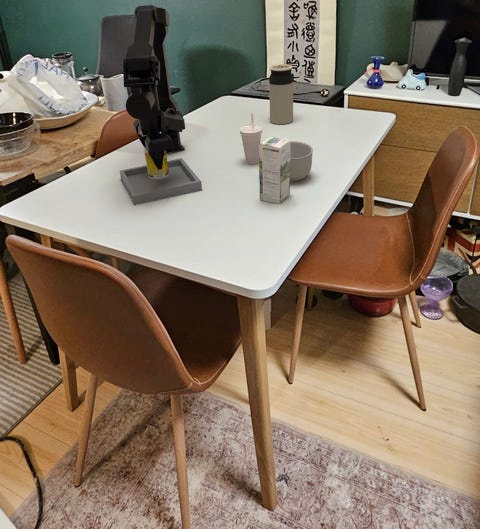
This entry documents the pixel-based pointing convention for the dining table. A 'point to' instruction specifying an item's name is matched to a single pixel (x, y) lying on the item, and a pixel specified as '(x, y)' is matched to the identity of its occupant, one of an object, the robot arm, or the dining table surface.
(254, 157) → the smoothie
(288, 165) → the syrup box
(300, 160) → the teacup
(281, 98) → the travel mug
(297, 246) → the dining table surface
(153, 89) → the robot arm
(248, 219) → the dining table surface
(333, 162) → the dining table surface
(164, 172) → the supplement bottle
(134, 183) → the tray
